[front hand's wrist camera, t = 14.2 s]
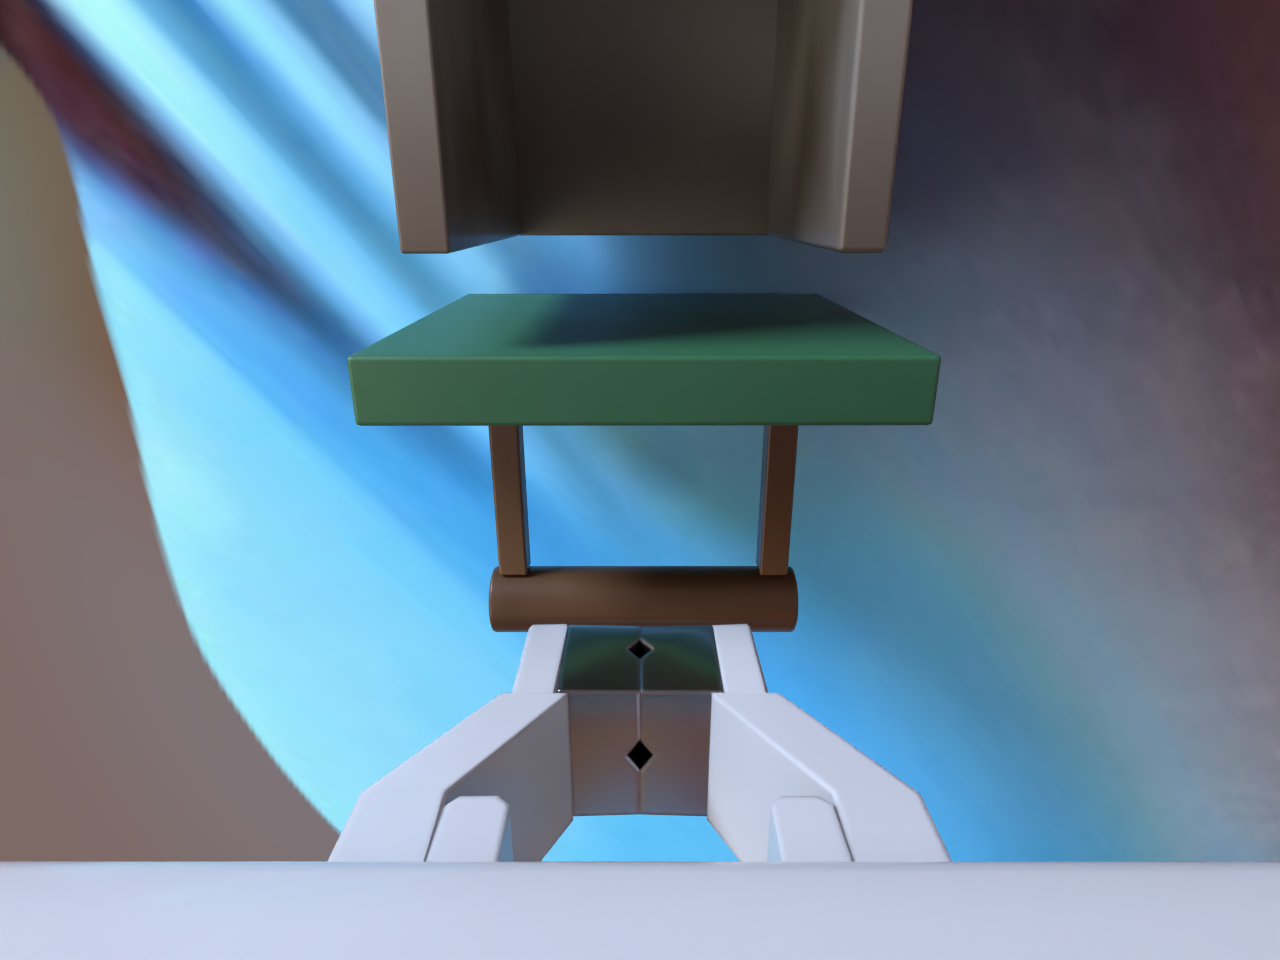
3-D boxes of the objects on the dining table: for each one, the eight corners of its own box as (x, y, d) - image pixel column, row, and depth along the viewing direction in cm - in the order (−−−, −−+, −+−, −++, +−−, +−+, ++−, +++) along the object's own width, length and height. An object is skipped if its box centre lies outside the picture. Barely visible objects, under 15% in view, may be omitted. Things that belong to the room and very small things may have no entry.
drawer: (801, 513, 23) (895, 696, 14) (484, 514, 23) (391, 696, 14) (889, -586, 15) (1227, -1664, 6) (396, -585, 15) (64, -1652, 6)
